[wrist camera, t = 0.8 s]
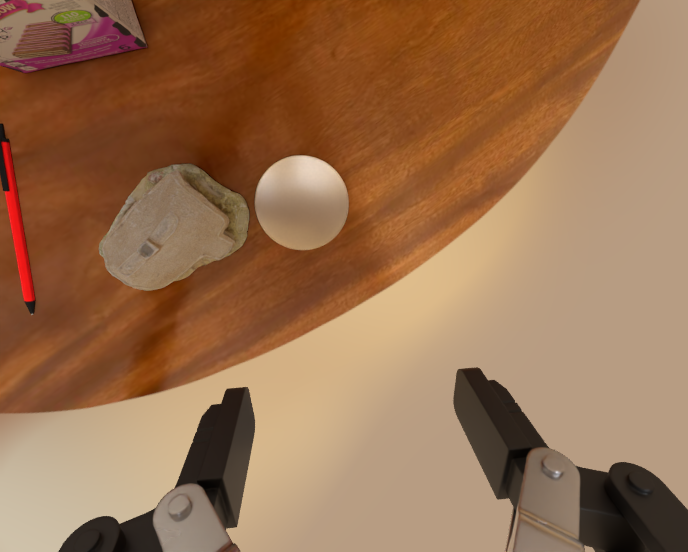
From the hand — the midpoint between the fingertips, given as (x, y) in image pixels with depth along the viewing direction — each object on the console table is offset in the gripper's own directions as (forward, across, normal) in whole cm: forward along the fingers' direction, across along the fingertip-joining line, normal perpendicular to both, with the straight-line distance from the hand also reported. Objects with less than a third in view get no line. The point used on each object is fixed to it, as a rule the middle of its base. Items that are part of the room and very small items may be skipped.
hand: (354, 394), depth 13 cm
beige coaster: (+27, +3, -1) cm, 28 cm away
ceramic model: (+27, +16, 0) cm, 31 cm away
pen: (+26, +31, -1) cm, 40 cm away
